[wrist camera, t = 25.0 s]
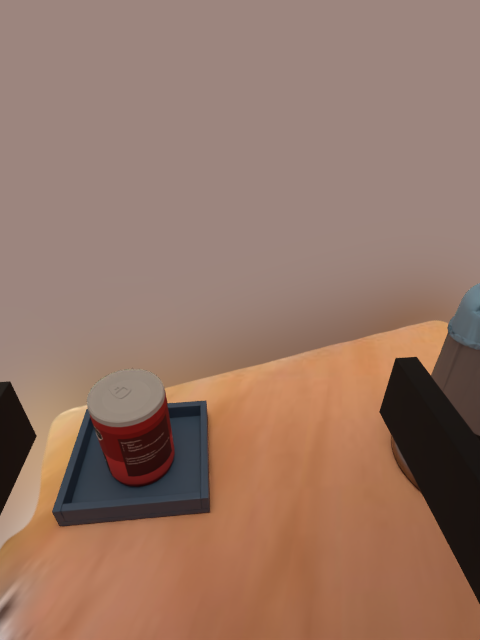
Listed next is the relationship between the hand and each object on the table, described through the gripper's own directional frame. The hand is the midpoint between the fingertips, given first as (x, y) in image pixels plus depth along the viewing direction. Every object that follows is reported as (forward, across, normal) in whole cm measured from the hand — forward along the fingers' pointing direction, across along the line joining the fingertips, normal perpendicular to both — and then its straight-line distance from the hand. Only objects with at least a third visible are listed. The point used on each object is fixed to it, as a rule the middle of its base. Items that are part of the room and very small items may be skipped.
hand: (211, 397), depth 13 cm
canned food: (+18, -9, -29) cm, 35 cm away
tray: (+19, -9, -29) cm, 36 cm away
